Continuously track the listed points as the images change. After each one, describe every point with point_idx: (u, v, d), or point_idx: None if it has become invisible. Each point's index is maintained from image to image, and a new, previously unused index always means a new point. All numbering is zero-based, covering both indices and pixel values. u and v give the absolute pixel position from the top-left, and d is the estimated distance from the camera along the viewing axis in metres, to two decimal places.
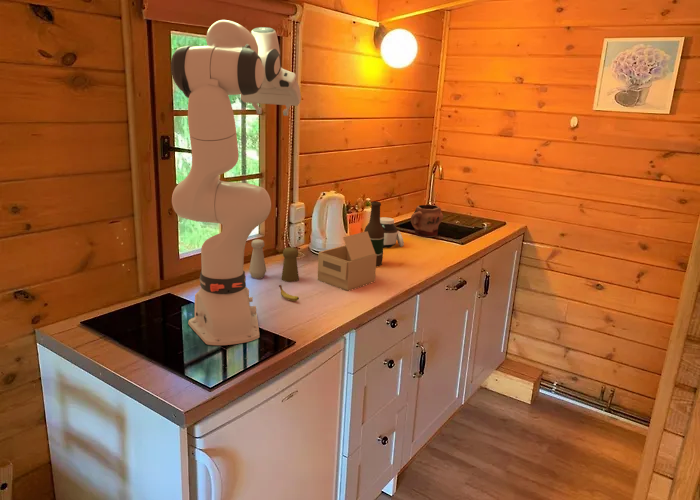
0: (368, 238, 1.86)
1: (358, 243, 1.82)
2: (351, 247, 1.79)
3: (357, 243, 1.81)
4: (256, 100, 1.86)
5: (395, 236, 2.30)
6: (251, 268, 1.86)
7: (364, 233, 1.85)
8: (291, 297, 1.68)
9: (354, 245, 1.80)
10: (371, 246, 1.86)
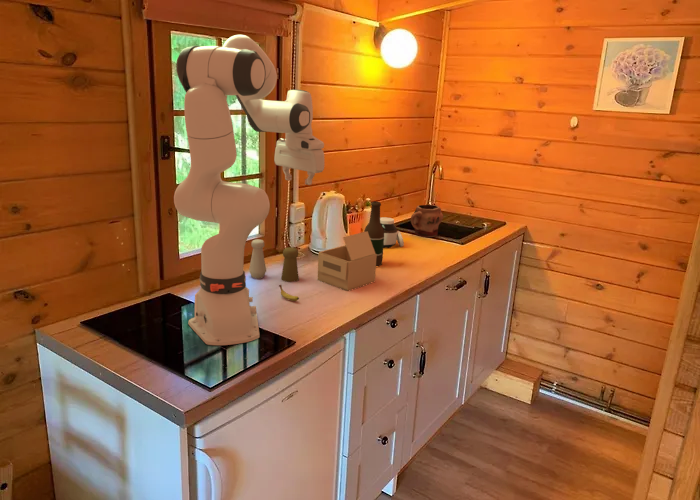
0: (368, 238, 1.86)
1: (358, 243, 1.82)
2: (351, 247, 1.79)
3: (357, 243, 1.81)
4: (284, 163, 1.85)
5: (395, 236, 2.30)
6: (251, 268, 1.86)
7: (364, 233, 1.85)
8: (291, 297, 1.68)
9: (354, 245, 1.80)
10: (371, 246, 1.86)
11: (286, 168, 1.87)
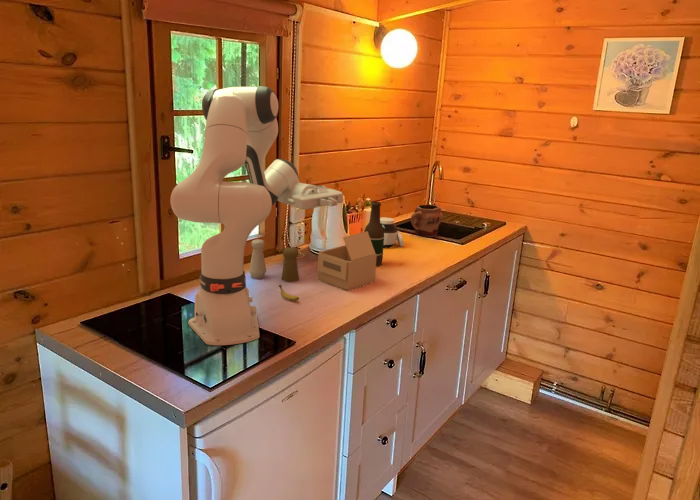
0: (368, 238, 1.86)
1: (358, 243, 1.82)
2: (351, 247, 1.79)
3: (357, 243, 1.81)
4: (312, 196, 1.86)
5: (395, 236, 2.30)
6: (251, 268, 1.86)
7: (364, 233, 1.85)
8: (291, 297, 1.68)
9: (354, 245, 1.80)
10: (371, 246, 1.86)
11: None
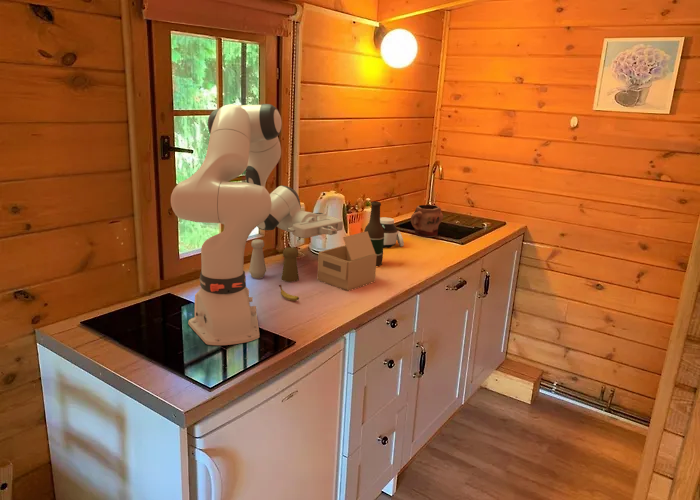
0: (368, 238, 1.86)
1: (358, 243, 1.82)
2: (351, 247, 1.79)
3: (357, 243, 1.81)
4: (312, 225, 1.89)
5: (395, 236, 2.30)
6: (251, 268, 1.86)
7: (364, 233, 1.85)
8: (291, 297, 1.68)
9: (354, 245, 1.80)
10: (371, 246, 1.86)
11: None
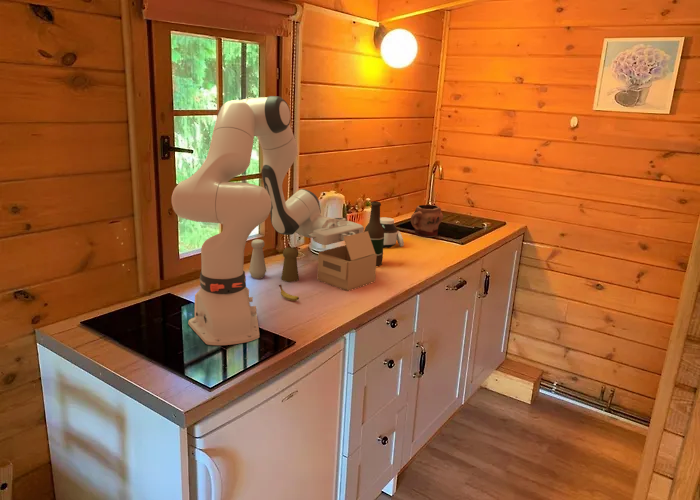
0: (368, 238, 1.86)
1: (358, 243, 1.82)
2: (351, 247, 1.79)
3: (357, 243, 1.81)
4: (334, 231, 1.82)
5: (395, 236, 2.30)
6: (251, 268, 1.86)
7: (365, 233, 1.85)
8: (291, 297, 1.68)
9: (354, 245, 1.80)
10: (371, 246, 1.86)
11: None
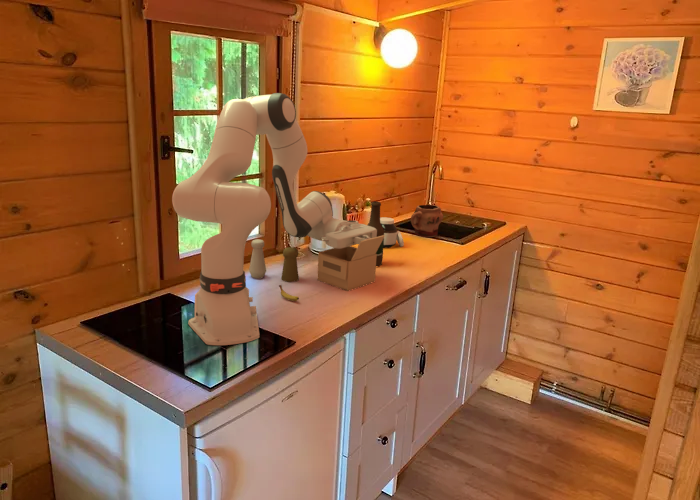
0: (380, 241, 1.83)
1: (368, 246, 1.79)
2: (360, 250, 1.77)
3: (368, 246, 1.79)
4: (347, 235, 1.79)
5: (395, 236, 2.30)
6: (251, 268, 1.86)
7: (381, 237, 1.81)
8: (291, 297, 1.68)
9: (364, 248, 1.78)
10: (377, 248, 1.84)
11: None
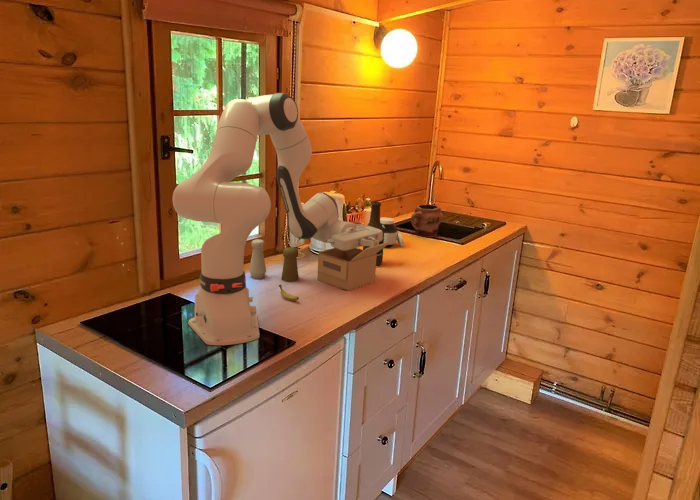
0: (384, 246, 1.82)
1: (371, 251, 1.78)
2: (362, 254, 1.76)
3: (371, 251, 1.78)
4: (353, 237, 1.77)
5: (395, 236, 2.30)
6: (251, 268, 1.86)
7: (385, 244, 1.80)
8: (291, 297, 1.68)
9: (367, 252, 1.77)
10: (378, 250, 1.84)
11: None
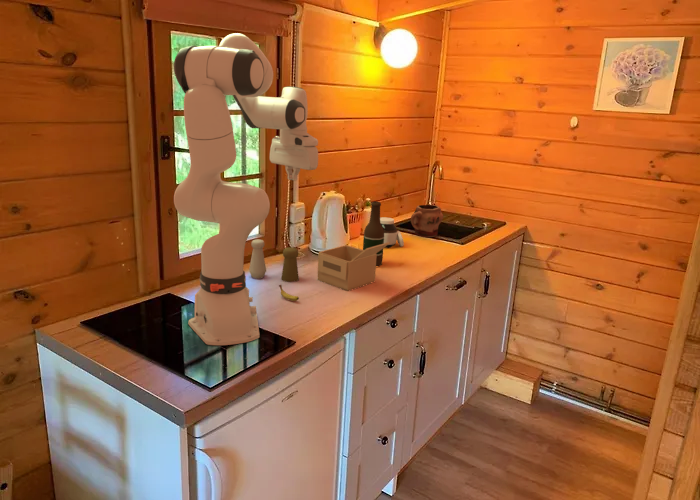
0: (384, 246, 1.82)
1: (371, 251, 1.78)
2: (363, 254, 1.76)
3: (371, 251, 1.78)
4: (279, 160, 1.85)
5: (395, 236, 2.30)
6: (251, 268, 1.86)
7: (386, 244, 1.80)
8: (291, 297, 1.68)
9: (367, 252, 1.77)
10: (378, 250, 1.84)
11: (289, 167, 1.84)
